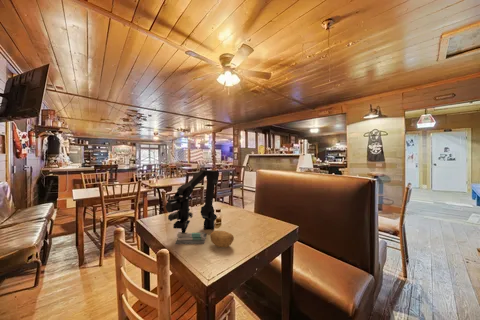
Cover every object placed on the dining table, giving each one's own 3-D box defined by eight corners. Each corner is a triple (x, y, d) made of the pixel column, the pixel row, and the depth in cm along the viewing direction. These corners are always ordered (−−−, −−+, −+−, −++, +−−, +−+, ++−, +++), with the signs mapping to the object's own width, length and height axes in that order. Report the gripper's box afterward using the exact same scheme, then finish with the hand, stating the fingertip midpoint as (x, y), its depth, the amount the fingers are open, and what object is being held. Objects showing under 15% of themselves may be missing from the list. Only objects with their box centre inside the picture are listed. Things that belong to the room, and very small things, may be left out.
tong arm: (204, 235, 108) (204, 231, 108) (204, 237, 106) (204, 233, 106) (178, 235, 109) (178, 231, 109) (177, 237, 106) (177, 232, 106)
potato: (216, 239, 109) (216, 226, 109) (236, 245, 103) (237, 231, 102) (205, 247, 101) (205, 232, 100) (227, 253, 94) (227, 238, 94)
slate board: (207, 235, 115) (207, 231, 115) (204, 244, 104) (204, 240, 104) (181, 235, 114) (181, 231, 114) (175, 244, 103) (175, 240, 103)
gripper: (175, 203, 118) (175, 227, 119) (163, 213, 99) (163, 241, 100) (193, 203, 118) (192, 227, 119) (184, 213, 99) (184, 241, 100)
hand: (183, 233), depth 109 cm, fingers closed
